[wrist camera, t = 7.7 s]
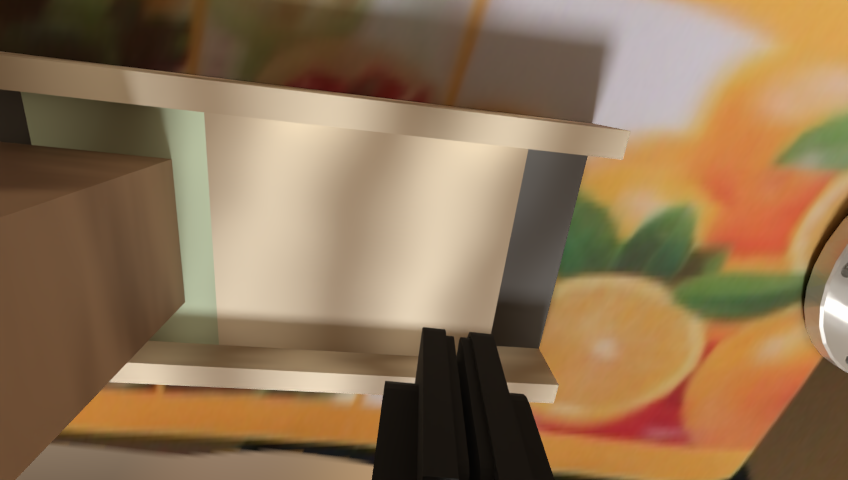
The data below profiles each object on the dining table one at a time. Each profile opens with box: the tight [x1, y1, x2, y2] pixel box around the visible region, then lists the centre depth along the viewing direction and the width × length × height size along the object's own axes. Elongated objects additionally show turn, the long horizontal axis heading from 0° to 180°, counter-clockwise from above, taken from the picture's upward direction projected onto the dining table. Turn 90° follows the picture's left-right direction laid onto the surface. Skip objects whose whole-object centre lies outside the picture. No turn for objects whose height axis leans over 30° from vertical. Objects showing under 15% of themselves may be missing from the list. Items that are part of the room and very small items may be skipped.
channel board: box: [0, 51, 631, 403], centre depth 16 cm, size 28×12×4 cm, turn 83°
